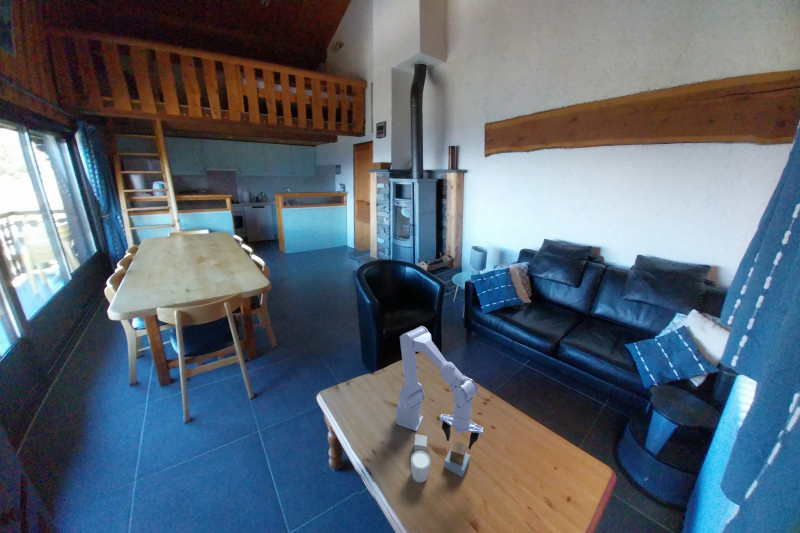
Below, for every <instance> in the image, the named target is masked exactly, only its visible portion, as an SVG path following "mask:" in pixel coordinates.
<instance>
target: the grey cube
mask: <svg viewBox="0 0 800 533" xmlns="http://www.w3.org/2000/svg"><path fill="white" fill-rule="evenodd" d="M414 436H415V437H414V443H413V454H414V453H415V452H417V451H423V452H425V453H427V447H428V435H424V434H415V435H414Z"/></svg>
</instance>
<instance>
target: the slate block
mask: <svg viewBox="0 0 800 533" xmlns="http://www.w3.org/2000/svg"><path fill="white" fill-rule="evenodd" d="M451 448H452V446H451V447H450V450H449V451H448V453H447V455H446V457H445V458H444V461H443V467H444V469H447V470H449V471H451V473H454V474H456V475H458V476H459V477H461V478H463V477H464V474H465V472H466V471H467V468H468V466H469V464H470V462H471V461H470V460H471V454H469V453H467V452H465V456H464V461H463V466H462V465H460V464H457V463H454V462H451V461H450V454H451Z"/></svg>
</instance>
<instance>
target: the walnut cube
mask: <svg viewBox="0 0 800 533" xmlns="http://www.w3.org/2000/svg"><path fill="white" fill-rule="evenodd" d="M466 446H467V444H466V443H464V442H461V441H457V440H454V439H453V441H452V444H451V447H452V448H451V447H450V449H451V454H450V461H451V462H454V463H457V464H460V465H462V466H463V461H464V456H465V453H466V449H467V448H466Z"/></svg>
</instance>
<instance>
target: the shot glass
mask: <svg viewBox="0 0 800 533" xmlns="http://www.w3.org/2000/svg"><path fill="white" fill-rule="evenodd" d="M431 461H432V460H431V457H430V455H429V454H428V453H427V452H426V453H425V452H423V451H417V452H415V453H414V452H413V453H412V454H411V457H410V467H411V477H412V479H413V480H414V481H415V482H416V483H423V482H426V480H428V477H429V473H430V467H431Z"/></svg>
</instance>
